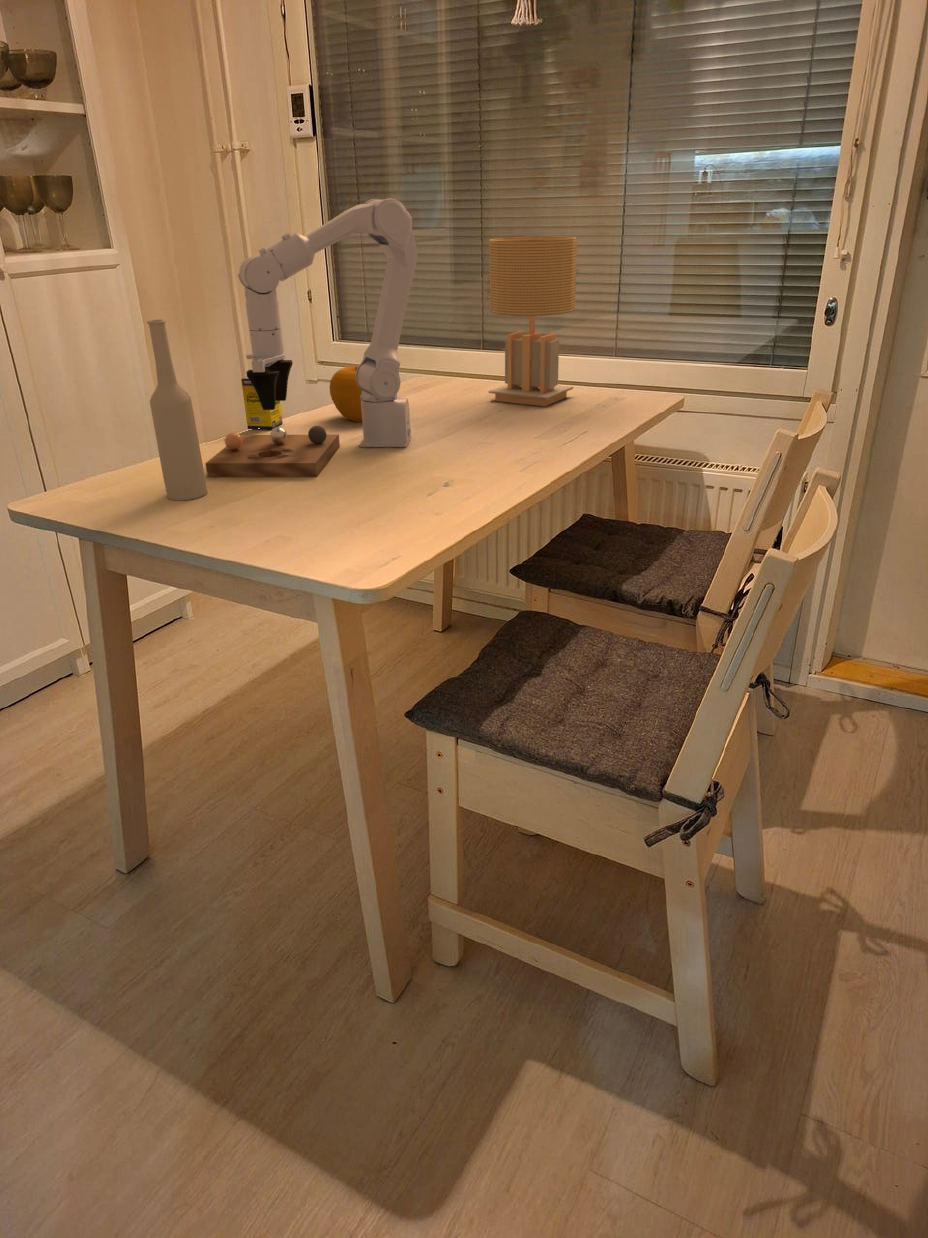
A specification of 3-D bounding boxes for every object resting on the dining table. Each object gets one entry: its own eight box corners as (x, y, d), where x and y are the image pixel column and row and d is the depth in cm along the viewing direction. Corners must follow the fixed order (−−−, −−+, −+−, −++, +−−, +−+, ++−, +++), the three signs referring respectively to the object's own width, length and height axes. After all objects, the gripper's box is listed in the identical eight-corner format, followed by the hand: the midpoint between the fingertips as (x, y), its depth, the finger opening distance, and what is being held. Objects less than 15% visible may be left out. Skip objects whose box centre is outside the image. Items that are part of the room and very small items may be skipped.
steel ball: (290, 441, 162) (288, 425, 161) (285, 445, 159) (283, 429, 158) (273, 441, 162) (271, 425, 161) (269, 446, 159) (267, 429, 158)
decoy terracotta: (245, 447, 159) (243, 430, 158) (240, 451, 156) (238, 434, 155) (229, 447, 159) (226, 430, 158) (223, 451, 156) (221, 434, 155)
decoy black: (328, 441, 162) (327, 423, 160) (325, 445, 159) (323, 428, 157) (311, 441, 162) (309, 423, 160) (307, 446, 159) (305, 428, 157)
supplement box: (273, 430, 181) (266, 378, 176) (247, 429, 182) (239, 378, 177) (283, 423, 186) (277, 373, 181) (258, 423, 187) (251, 372, 182)
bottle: (185, 503, 138) (153, 324, 125) (158, 497, 141) (124, 321, 129) (215, 491, 143) (187, 318, 130) (189, 486, 146) (159, 316, 134)
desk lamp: (585, 394, 205) (591, 236, 190) (548, 411, 191) (552, 241, 175) (515, 387, 215) (516, 236, 199) (475, 402, 200) (472, 240, 184)
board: (339, 446, 167) (338, 434, 166) (317, 476, 150) (315, 462, 148) (241, 447, 169) (240, 434, 168) (207, 476, 151) (205, 463, 150)
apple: (321, 423, 186) (316, 370, 180) (350, 410, 196) (346, 359, 191) (373, 427, 181) (369, 372, 176) (399, 413, 192) (397, 362, 187)
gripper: (255, 323, 158) (264, 396, 164) (230, 335, 145) (241, 413, 151) (292, 323, 158) (300, 396, 164) (270, 334, 145) (280, 413, 151)
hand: (274, 404), depth 157 cm, fingers open, 7 cm apart
